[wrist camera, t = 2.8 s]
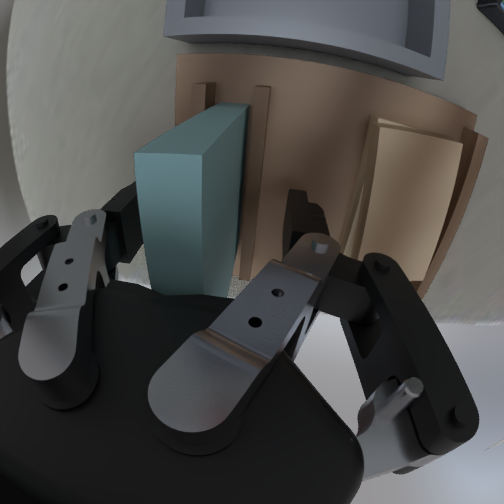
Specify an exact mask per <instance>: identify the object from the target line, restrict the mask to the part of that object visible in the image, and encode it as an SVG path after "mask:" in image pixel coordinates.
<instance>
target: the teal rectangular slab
mask: <svg viewBox="0 0 504 504" xmlns="http://www.w3.org/2000/svg"><path fill="white" fill-rule="evenodd" d="M249 111H250V104H243V103H228V102H220V103H218V104H216V105H214V106H212V107H210V108H208V109H207V110H205V111H203V112H201V113H199V114H197V115H195V116H194V117H192V118H190V119H188V120H186V121H185V122H183V123H181V124H179V125H178V126H176V127H174V128H173V129H171V130H169V131H167V132H166V133H164V134H163V135H161V136H159V137H158V138H156V139H154V140H153V141H151V142H150V143H148V144H147V145H145V146H144V147H142V148H140V149H139V150H137V151H136V152H134V164H135V176H136V187H137V197H138V206H139V214H140V222H141V229H142V236H143V243H144V249H145V256H146V262H147V267H148V273H149V279H150V284H151V289H152V290H154V291H156V292H158V293H161V294H164V295H195V294H204V295H211V296H218V297H225V298H227V295H228V291H229V286H230V282H231V277H232V273H233V268H234V264H235V259H236V255H237V251H238V246H239V238H240V224H241V210H242V197H243V184H244V171H245V159H246V147H247V135H248V123H249Z"/></svg>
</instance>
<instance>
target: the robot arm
mask: <svg viewBox="0 0 504 504" xmlns="http://www.w3.org/2000/svg"><path fill="white" fill-rule="evenodd" d="M142 244H143V236H142V229H141V222H140V214H139V206H138V197H137V187H136V181H135V182H134V183H132V184H131V185H129V186H127V187H125V188H123V189H121V190H120V191H119V192H118V193H117V194H116V196H114V197H113V198H112V199H111V200H110V201H108V202H107V203H106V204H105V205H104V206H103V207H102V208H101V209H100V210H98V209H94V210H88V211H85V212H83V213H81V214H79V215H78V216H76V217H75V218H74V220H73V222H72V225H66V226H59V223H58V219H57V217H56V216H54V215H46V216H43V217H40V218H38V219H36V220H35V221H33V222H32V223H31V224H29V225H28V226H27V227H25V228H24V229H23V230H21V231H20V232H19V233H18V234H17V235H15V236H14V237H13V238H12V239H10V240H9V241H8V242H7V243H5V245H3V246H2V247H1V248H0V504H350V503H351V501H352V500H353V498H354V497H355V495H356V493H357V491H358V489H359V488H360V485H361V482H362V481H364V480H368V479H371V478H375V477H378V476H381V475H384V474H387V473H390V472H393V473H395V474H406V473H409V472H411V471H413V470H415V469H417V468H419V467H422V466H424V465H426V464H428V463H429V462H432V461H433V460H435V459H437V458H439V457H441V456H443V455H445V454H446V453H448V452H450V451H452V450H454V449H455V448H457V447H459V446H460V445H462V444H464V443H465V442H467V441H468V440H470V439H471V438H472V437H473V436H474V435H475V433H476V432H477V429H478V426H479V413H478V410H477V407H476V405H475V402H474V400H473V397H472V395H471V393H470V391H469V388H468V386H467V384H466V382H465V380H464V378H463V376H462V373H461V371H460V369H459V367H458V365H457V363H456V361H455V359H454V357H453V355H452V353H451V351H450V349H449V347H448V346H447V344H446V342H445V340H444V338H443V336H442V335H441V333H440V331H439V329H438V327H437V325H436V324H435V322H434V320H433V318H432V317H431V315H430V313H429V312H428V310H427V308H426V307H425V305H424V303H423V302H422V300H421V298H420V297H419V295H418V293H417V292H416V290H415V289H414V287H413V285H412V284H411V282H410V281H409V279H408V278H407V276H406V275H405V273H404V272H403V270H402V269H401V267H400V266H399V264H398V263H397V262H396V261H395V260H394V259H392V258H391V257H389V256H387V255H385V254H382V253H376V252H372V253H368V254H366V255H365V256H364V258H363V261H359V260H356V259H353V258H350V257H348V256H345V255H343V254H342V253H340V250H341V248H340V245H339V243H338V242H337V241H336V240H335V239H333V238H332V237H330V233H329V229H328V225H327V223H326V218H325V214H324V210H323V209H322V208H321V207H320V206H319V205H318V204H317V203H311V202H308V197H307V192H306V191H304V190H297V189H289V192H288V198H287V204H286V211H285V217H284V223H283V233H282V261H281V262H280V261H278V260H275V259H271V260H270V261H269V262H268V263H267V264H266V265H265V266H264V268H263V269H262V270H261V271H260V272H259V273H258V274H257V275H256V276H255V277H254V279H253V280H252V281H251V282H250V283H249V284H248V285H247V286H246V287H245V288H244V290H243V291H242V292H241V293H240V294H239V295H238V296H237V297H236V298H235V299H233V298H225V297H218V296H211V295H204V294H195V295H164V294H161V293H158V292H156V291H154V290H151V289H149V288H146V287H144V286H141V285H139V284H135V283H129V282H124V281H118V268H117V263H118V262H122V263H129V264H130V262H131V261H132V259H133V258H134V256H135V255H136V253H137V252H138V250H139V249H140V247H141V246H142ZM36 254H37V256H38V258H39V261H40V264H41V266H42V269H43V270H42V271H41V272H40V273H39V274H38V275H37V276H36V277H35V278H34V279H33V280H32V281H31V282H30V283H29V284H28V285H27V286H26V287H25V285H24V283H23V281H22V279H21V270H22V268H23V266H24V265H25V264H26V263H27V262H28V261H30V259H31V258H33V257H34V256H35V255H36ZM320 311H322V312H325V313H328V314H330V315H333V316H336V317H339V318H340V322H341V325H342V328H343V331H344V334H345V336H346V339H347V342H348V345H349V348H350V351H351V354H352V357H353V360H354V363H355V366H356V369H357V372H358V375H359V379H360V382H361V385H362V388H363V391H364V395H365V398H366V401H365V402H364V404H363V405H362V406H361V407H360V410H359V412H358V418H357V419H358V432H357V435H356V436H355V434H354V433H353V432H352V431H351V429H350V428H349V427H348V426H347V425H346V424H345V423H344V421H343V420H342V419H341V418H340V417H339V416H338V415H337V413H336V412H335V411H334V410H333V409H332V408H331V406H330V405H329V404H328V403H327V402H326V400H325V399H324V398H323V397H322V396H321V395H320V393H319V392H318V391H317V390H316V388H315V387H314V386H313V385H312V384H311V382H310V381H309V380H308V379H307V378H306V377H305V375H304V374H303V373H302V372H301V371H300V369H299V368H298V367H297V366H296V364H295V363H294V360H295V358H296V356H297V354H298V351H299V349H300V347H301V345H302V343H303V341H304V339H305V338H306V335H307V334H308V332H309V330H310V329H311V327H312V325H313V323H314V321H315V319H316V317H317V316H318V314H319V312H320Z"/></svg>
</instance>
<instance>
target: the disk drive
mask: <svg viewBox="0 0 504 504" xmlns="http://www.w3.org/2000/svg"><path fill="white" fill-rule="evenodd" d="M477 8H478V9H479V10H480V11H481V12H482V13H483V14H484V15H485V16H486V17H487V18H488V19H489V20H490V21H491V22H492V23H494V25H495V26H496V27H497V28H498V29H499V30H500V31H501V32H502V33H503V34H504V0H478V3H477Z"/></svg>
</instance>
